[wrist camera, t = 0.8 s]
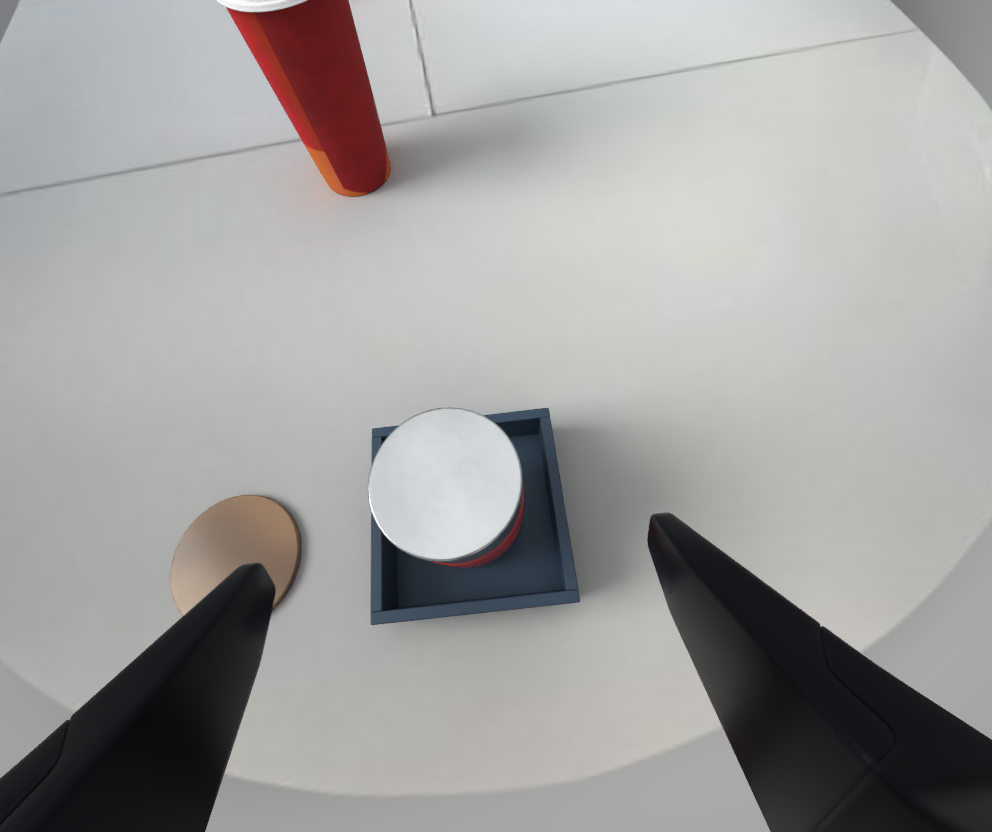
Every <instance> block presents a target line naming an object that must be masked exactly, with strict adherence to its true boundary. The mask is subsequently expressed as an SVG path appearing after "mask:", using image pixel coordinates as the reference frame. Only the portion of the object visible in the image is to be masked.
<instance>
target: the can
mask: <svg viewBox="0 0 992 832" xmlns="http://www.w3.org/2000/svg"><path fill="white" fill-rule="evenodd" d="M368 497H369V503H370V508H371V511H372V514H373V517H374V519H375V521H376V523H377V525H378V527H379V528H380V530H381V531H382V533H383V534H384V535H385V536H386V538H387V539H388V540H389V541H390V542H391V543H392V544H394V545H395V546H396V547H397V548H399V549H400V550H402V551H404V552H405V553H407V554H409V555H412V556H414V557H417V558H420V559H424V560H428V561H431V562H433V563H437V564H442V565H446V566H452V567H458V568H469V569H472V568H481V567H485V566H488V565H491V564H493V563H495V562H497V561H498V560H500V559H501V558H503V557H504V556H505V555H506V554H507V553H508V552H509V551H510V550H511V549H512V547H513V546H514V544H515V543H516V541H517V539H518V537H519V534H520V531H521V528H522V522H523V512H524V491H523V482H522V469H521V464H520V459H519V456H518V454H517V451H516V449H515V447H514V445H513V443H512V441H511V440H510V438H509V437H508V436H507V434H506V433H505V432H504V431H503V430H502V429H501V428H500V427H499V426H498V425H497V424H496V423H494V422H493V421H492V420H490V419H488V418H487V417H485V416H483V415H481V414H479V413H476V412H473V411H470V410H466V409H461V408H438V409H433V410H429V411H425V412H422V413H420V414H418V415H415V416H413V417H411V418H410V419H408V420H406V421H405V422H403V423H402V424H401V425H399V426H398V427H397V428H396V429H395V430H394V431H393V432H392V433H390V435H389V436H388V437H387V438H386V439H385V441H384V442H383V443H382V445H381V447H380V448H379V450H378V452H377V454H376V456H375V458H374V460H373V463H372V466H371V470H370V475H369V482H368Z"/></svg>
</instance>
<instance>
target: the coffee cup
mask: <svg viewBox="0 0 992 832" xmlns="http://www.w3.org/2000/svg"><path fill="white" fill-rule="evenodd" d="M217 1H218V2H219V3H220V4H222V5H223V6H225V7H226V8H227V10H228V12H229V13H230V15H231V17H232V19H233V20H234V22H235V24H236V26H237V27H238V29H239V31H240V33H241V34H242V36H243V38H244V40H245V41H246V43H247V45H248V47H249V48H250V50H251V52H252V54H253V55H254V57H255V59H256V61H257V62H258V64H259V66H260V68H261V69H262V71H263V73H264V75H265V77H266V78H267V80H268V82H269V84H270V85H271V87H272V89H273V91H274V92H275V94H276V96H277V98H278V99H279V101H280V103H281V105H282V106H283V108H284V110H285V112H286V113H287V115H288V117H289V119H290V120H291V122H292V124H293V126H294V127H295V129H296V131H297V133H298V134H299V136H300V138H301V140H302V141H303V143H304V145H305V146H306V148H307V150H308V152H309V153H310V155H311V157H312V159H313V160H314V162H315V164H316V165H317V167H318V169H319V170H320V172H321V174H322V176H323V177H324V179H325V180H326V182H327V184H328V185H329V186H330V188H331V189H332V190H333V191H335V192H336V193H338V194H341V195H344V196H361V195H365V194H368V193H371V192H373V191H375V190H376V189H378V188H379V187H380V186H382V185H383V184H384V182H385V181H386V180H387V178H388V176H389V173H390V163H389V158H388V153H387V149H386V145H385V141H384V137H383V133H382V129H381V125H380V121H379V117H378V113H377V109H376V105H375V101H374V97H373V94H372V90H371V86H370V82H369V78H368V74H367V70H366V66H365V63H364V59H363V55H362V51H361V47H360V43H359V39H358V35H357V32H356V28H355V24H354V20H353V16H352V12H351V8H350V5H349V1H348V0H217Z"/></svg>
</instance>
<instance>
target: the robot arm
mask: <svg viewBox="0 0 992 832" xmlns="http://www.w3.org/2000/svg"><path fill="white" fill-rule="evenodd" d="M648 547H649V551H650V554H651V557H652V560H653V563H654V566H655V569H656V572H657V575H658V578H659V581H660V584H661V586H662V589H663V592H664V595H665V598H666V601H667V604H668V607H669V610H670V613H671V615H672V617H673V620H674V622H675V624H676V626H677V628H678V631H679V633H680V635H681V637H682V639H683V642H684V644H685V646H686V648H687V650H688V652H689V655H690V657H691V659H692V661H693V663H694V666H695V668H696V670H697V672H698V674H699V676H700V679H701V681H702V683H703V685H704V687H705V690H706V692H707V694H708V696H709V698H710V700H711V703H712V705H713V707H714V709H715V711H716V713H717V716H718V718H719V720H720V722H721V724H722V727H723V729H724V731H725V733H726V735H727V737H728V739H729V742H730V744H731V746H732V748H733V750H734V753H735V755H736V757H737V759H738V761H739V764H740V766H741V768H742V770H743V772H744V774H745V777H746V779H747V781H748V783H749V785H750V787H751V790H752V792H753V794H754V796H755V798H756V801H757V803H758V805H759V807H760V809H761V811H762V814H763V816H764V818H765V820H766V822H767V825H768V827H769V829H770V831H771V832H992V740H991V739H990V738H988V737H986V736H985V735H984V734H982V733H980V732H979V731H977V730H976V729H974V728H973V727H971V726H969V725H968V724H967V723H965V722H963V721H962V720H960V719H959V718H957V717H956V716H954V715H953V714H951V713H950V712H948V711H946V710H945V709H943V708H942V707H940V706H939V705H937V704H935V703H934V702H933V701H931V700H929V699H928V698H926V697H925V696H923V695H921V694H920V693H918V692H917V691H916V690H914V689H912V688H911V687H909V686H908V685H906V684H905V683H903V682H902V681H900V680H899V679H897V678H896V677H894V676H893V675H891V674H890V673H888V672H887V671H885V670H884V669H882V668H881V667H879V666H878V665H876V664H875V663H874V662H872V661H871V660H869V659H868V658H867V657H865V656H863V655H862V654H861V653H860V652H858V651H857V650H855V649H854V648H853V647H851V646H850V645H848V644H847V643H846V642H844V641H843V640H842V639H840V638H839V637H837V636H836V635H835V634H833V633H832V632H831V631H829V630H828V629H827V628H825V627H824V626H821V627H820V624H819V623H818V622H817V621H816V620H814V619H813V618H812V617H810V616H809V615H808V614H806V613H805V612H804V611H802V610H801V609H799V608H798V607H797V606H795V605H794V604H793V603H791V602H790V601H789V600H787V599H786V598H785V597H783V596H782V595H781V594H779V593H778V592H777V591H775V590H774V589H772V588H771V587H770V586H768V585H767V584H766V583H764V582H763V581H762V580H760V579H759V578H758V577H756V576H755V575H754V574H752V573H751V572H750V571H748V570H747V569H746V568H744V567H743V566H741V565H740V564H739V563H737V562H736V561H735V560H733V559H732V558H731V557H729V556H728V555H727V554H725V553H724V552H723V551H721V550H720V549H719V548H717V547H716V546H714V545H713V544H712V543H710V542H709V541H708V540H706V539H705V538H704V537H702V536H701V535H700V534H698V533H697V532H696V531H694V530H693V529H692V528H690V527H689V526H688V525H686V524H685V523H683V522H682V521H681V520H679V519H678V518H677V517H675V516H674V515H673V514H671V513H658V514H653V515H652V516H651V518H650V524H649V531H648ZM275 594H276V589H275V584H274V582H273V581H272V579H271V577H270V575H269V574H268V572H267V570H266V569H265V567H264V565H263V564H261V563H258V562H257V563H249V564H243V565H241V566H239V567H238V568H237V569H235V570H234V571H233V572H232V573H231V574H230V575H229V576H228V577H226V578H225V579H224V580H223V581H222V582H221V583H220V584H219V585H218V586H216V587H215V588H214V589H213V590H212V591H211V592H210V593H209V594H207V595H206V596H205V597H204V598H203V599H202V600H201V601H200V602H199V603H197V604H196V605H195V606H194V607H193V608H192V609H191V610H190V611H188V612H187V613H186V614H185V615H184V616H183V617H182V618H181V619H179V620H178V621H177V622H176V623H175V624H174V625H173V626H172V627H171V628H169V629H168V630H167V631H166V632H165V633H164V634H163V635H162V636H160V637H159V638H158V639H157V640H156V641H155V642H154V643H153V644H152V645H150V646H149V647H148V648H147V649H146V650H145V651H144V652H143V653H141V654H140V655H139V656H138V657H137V658H136V659H135V660H134V661H133V662H131V663H130V664H129V665H128V666H127V667H126V668H125V669H124V670H122V671H121V672H120V673H119V674H118V675H117V676H116V677H115V678H114V679H112V680H111V681H110V682H109V683H108V684H107V685H106V686H105V687H103V688H102V689H101V690H100V691H99V692H98V693H97V694H96V695H94V696H93V697H92V698H91V699H90V700H89V701H88V702H87V703H86V704H84V705H83V706H82V707H81V708H80V709H79V710H78V711H77V712H75V713H74V714H73V715H72V716H71V719H70V720H67V721H66V722H64V723H63V724H62V725H61V726H60V727H59V728H57V729H56V730H55V731H54V732H53V733H52V734H51V735H50V736H48V737H47V738H46V739H45V740H44V741H43V742H42V743H41V744H39V746H37V747H36V748H35V749H34V750H33V751H32V752H30V753H29V754H28V755H27V756H26V757H25V758H24V759H22V760H21V761H20V762H19V763H18V764H17V765H15V766H14V767H13V768H12V769H11V770H10V771H9V772H7V773H6V774H5V775H4V776H3V777H1V778H0V832H205V830H206V827H207V824H208V821H209V817H210V815H211V812H212V809H213V806H214V803H215V800H216V797H217V794H218V790H219V787H220V784H221V781H222V778H223V775H224V772H225V769H226V766H227V763H228V760H229V757H230V754H231V751H232V748H233V745H234V742H235V739H236V736H237V733H238V730H239V726H240V723H241V720H242V717H243V714H244V711H245V708H246V705H247V702H248V699H249V696H250V693H251V690H252V687H253V684H254V681H255V678H256V675H257V671H258V668H259V665H260V661H261V657H262V653H263V649H264V644H265V640H266V635H267V631H268V626H269V622H270V617H271V613H272V608H273V604H274V599H275Z"/></svg>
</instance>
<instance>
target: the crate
mask: <svg viewBox="0 0 992 832" xmlns="http://www.w3.org/2000/svg"><path fill="white" fill-rule="evenodd" d="M483 416H485V417H487V418H488V419H490V420H492V421H493V422H494V423H496V424H497V425H498V426H499V427H500V428H501V429H502V430H503V431H504V432H505V433H506V434H507V436H508V437H509V438H510V440H511V441H512V443H513V445H514V447H515V449H516V451H517V454H518V456H519V459H520V464H521V469H522V482H523V491H524V512H523V522H522V528H521V531H520V534H519V537H518V539H517V541H516V543H515V544H514V546H513V547H512V549H511V550H510V551H509V552H508V553H507V554H506V555H505V556H504V557H503V558H501V559H500V560H498V561H497V562H495V563H493V564H491V565H488V566H485V567H481V568H472V569H469V568H458V567H452V566H446V565H442V564H437V563H433V562H431V561H428V560H424V559H420V558H417V557H414V556H412V555H409V554H407V553H405V552H404V551H402V550H400V549H399V548H397V547H396V546H395V545H394V544H392V543H391V542H390V541H389V540H388V539H387V538H386V536H385V535H384V534H383V533H382V531H381V530H380V528H379V527H378V525H377V523H376V521H375V519H374V517H373V514H372V511H371V625H377V624H386V623H395V622H404V621H413V620H422V619H431V618H440V617H449V616H459V615H468V614H477V613H486V612H495V611H504V610H513V609H522V608H531V607H540V606H549V605H558V604H567V603H576V602H580V598H579V592H578V590H577V589H578V586H577V580H576V573H575V567H574V561H573V555H572V549H571V543H570V537H569V530H568V524H567V518H566V512H565V506H564V500H563V494H562V488H561V481H560V475H559V469H558V463H557V457H556V451H555V445H554V438H553V432H552V426H551V420H550V414H549V409H548V408H542V409H534V410H525V411H517V412H508V413H500V414H492V415H483ZM397 427H398V426H391V427H383V428H374V429H372V463H373V460H374V458H375V456H376V454H377V452H378V450H379V448H380V447H381V445H382V443H383V442H384V441H385V439H386V438H387V437H388V436H389V435H390V433H392V432H393V431H394V430H395V429H396V428H397Z"/></svg>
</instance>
